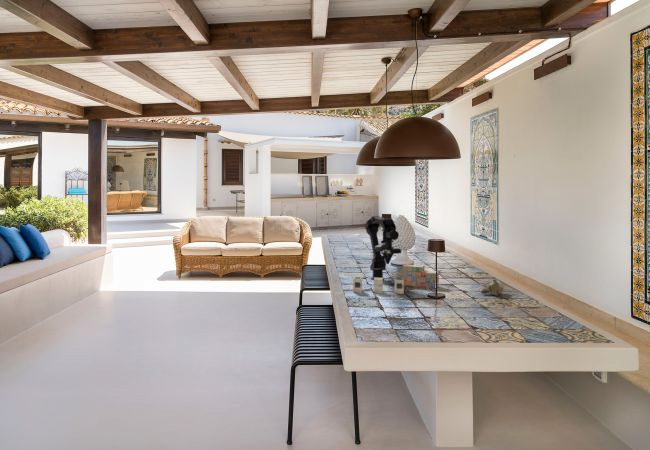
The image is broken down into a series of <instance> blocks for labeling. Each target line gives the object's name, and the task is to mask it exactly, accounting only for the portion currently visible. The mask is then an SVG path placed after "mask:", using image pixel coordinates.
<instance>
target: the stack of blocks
mask: <svg viewBox="0 0 650 450" xmlns="http://www.w3.org/2000/svg"><path fill="white" fill-rule="evenodd" d="M401 272H402V274H401V275H402V277H401V278H403V279H404V286H411V287H418V286H419V288H428V289H429V288H430V289H436V288H435V283H436V272H437V288H438V287H439V285H440V284H439V280H440V279H439V278H440V277H439V276H440V272H439V271H434V270H433V271H432V270H425V265H422V264H421V265H419V264H407V263H406V264H404V265H402V271H401Z"/></svg>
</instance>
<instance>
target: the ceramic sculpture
mask: <svg viewBox="0 0 650 450" xmlns="http://www.w3.org/2000/svg"><path fill="white" fill-rule="evenodd" d="M503 291H504V286H503V283H502V282H501V281H500V279H498V280H495V279H493V280H492V281H490V282H489V283H487V286H486V287H484V288H482V289H481V291H480V293H481V294H483V295H485V294H489V295H492V296H497V297H498V296H500V295H501V294H502V293H503Z"/></svg>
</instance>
